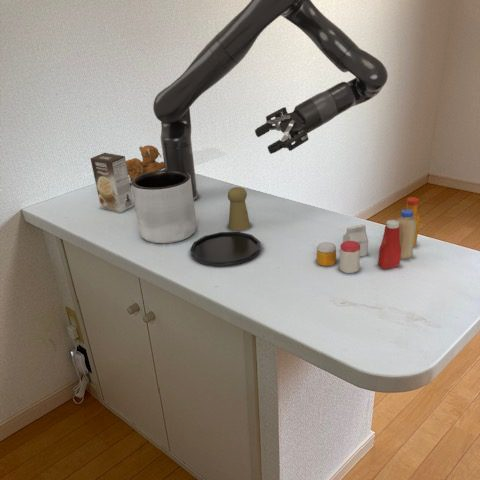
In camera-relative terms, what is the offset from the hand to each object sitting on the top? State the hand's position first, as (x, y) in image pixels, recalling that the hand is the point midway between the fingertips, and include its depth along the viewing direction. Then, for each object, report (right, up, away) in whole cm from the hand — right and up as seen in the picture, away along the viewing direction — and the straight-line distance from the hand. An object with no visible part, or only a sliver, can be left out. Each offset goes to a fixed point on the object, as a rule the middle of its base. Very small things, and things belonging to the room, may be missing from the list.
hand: (262, 142), depth 137 cm
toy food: (+26, -32, -12) cm, 43 cm away
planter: (-26, -23, +8) cm, 36 cm away
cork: (-6, -21, +9) cm, 24 cm away
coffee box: (-45, -11, +28) cm, 54 cm away
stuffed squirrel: (-38, 0, +44) cm, 58 cm away
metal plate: (-10, -29, -3) cm, 31 cm away
